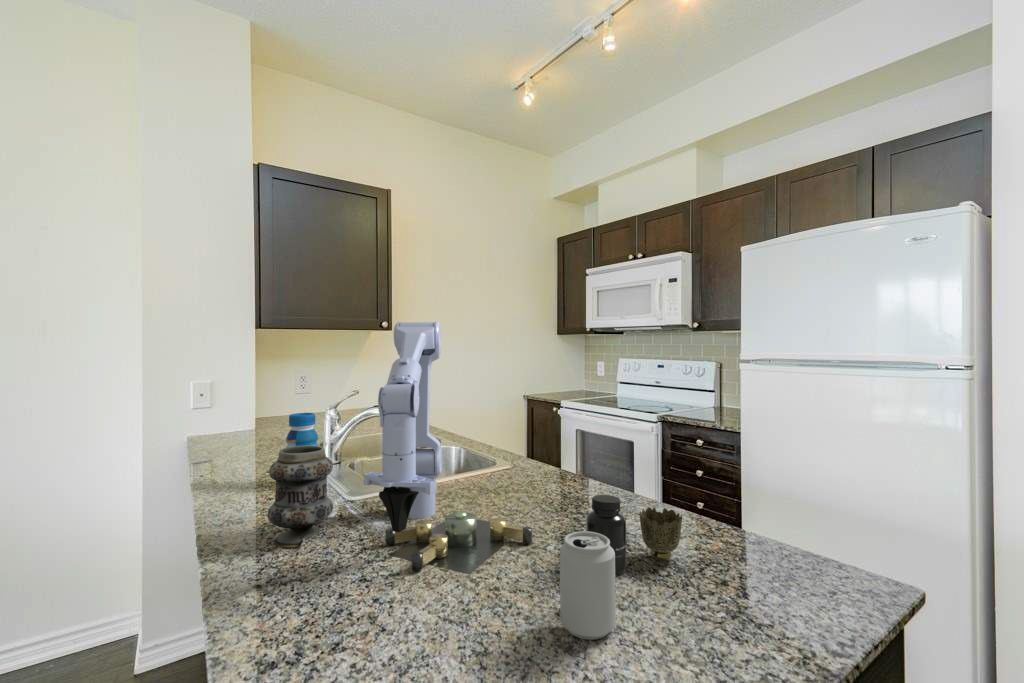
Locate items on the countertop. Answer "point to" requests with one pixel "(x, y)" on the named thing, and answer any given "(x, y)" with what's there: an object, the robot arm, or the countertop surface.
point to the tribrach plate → (458, 553)
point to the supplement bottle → (609, 526)
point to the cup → (660, 532)
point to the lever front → (430, 551)
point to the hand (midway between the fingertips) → (399, 530)
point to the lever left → (411, 533)
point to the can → (587, 585)
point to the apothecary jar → (300, 493)
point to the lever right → (509, 531)
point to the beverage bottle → (302, 430)
